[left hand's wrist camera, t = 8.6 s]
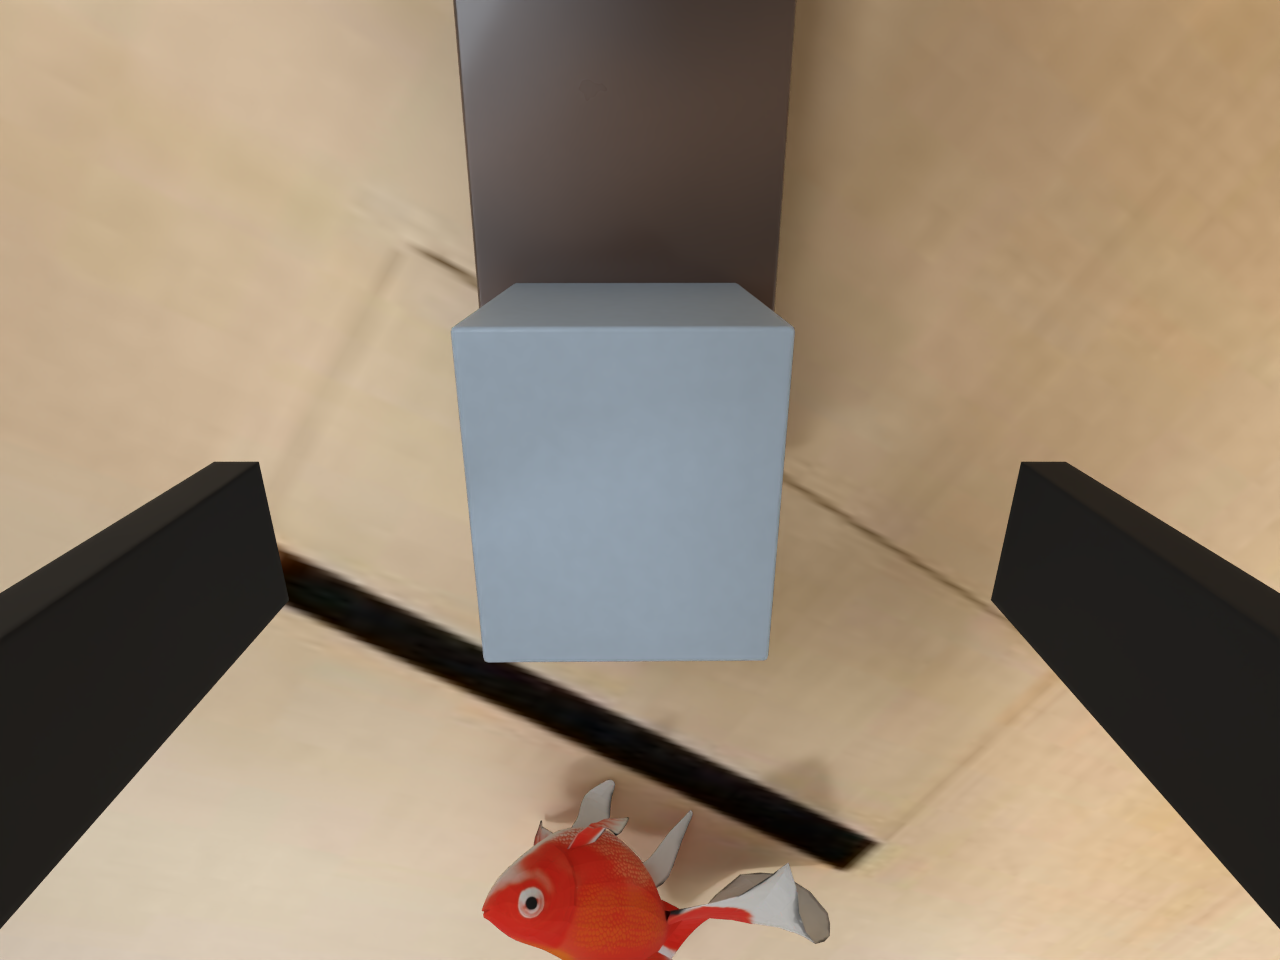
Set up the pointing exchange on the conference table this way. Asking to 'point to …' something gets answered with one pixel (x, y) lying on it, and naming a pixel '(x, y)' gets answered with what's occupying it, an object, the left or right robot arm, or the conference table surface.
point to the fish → (627, 894)
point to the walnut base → (625, 140)
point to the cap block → (624, 469)
